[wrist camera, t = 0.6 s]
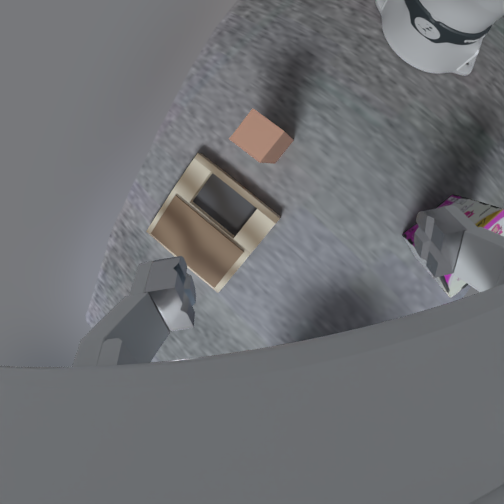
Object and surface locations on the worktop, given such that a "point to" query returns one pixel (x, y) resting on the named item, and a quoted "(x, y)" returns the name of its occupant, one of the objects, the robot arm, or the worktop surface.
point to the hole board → (211, 222)
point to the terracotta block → (261, 138)
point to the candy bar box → (480, 216)
